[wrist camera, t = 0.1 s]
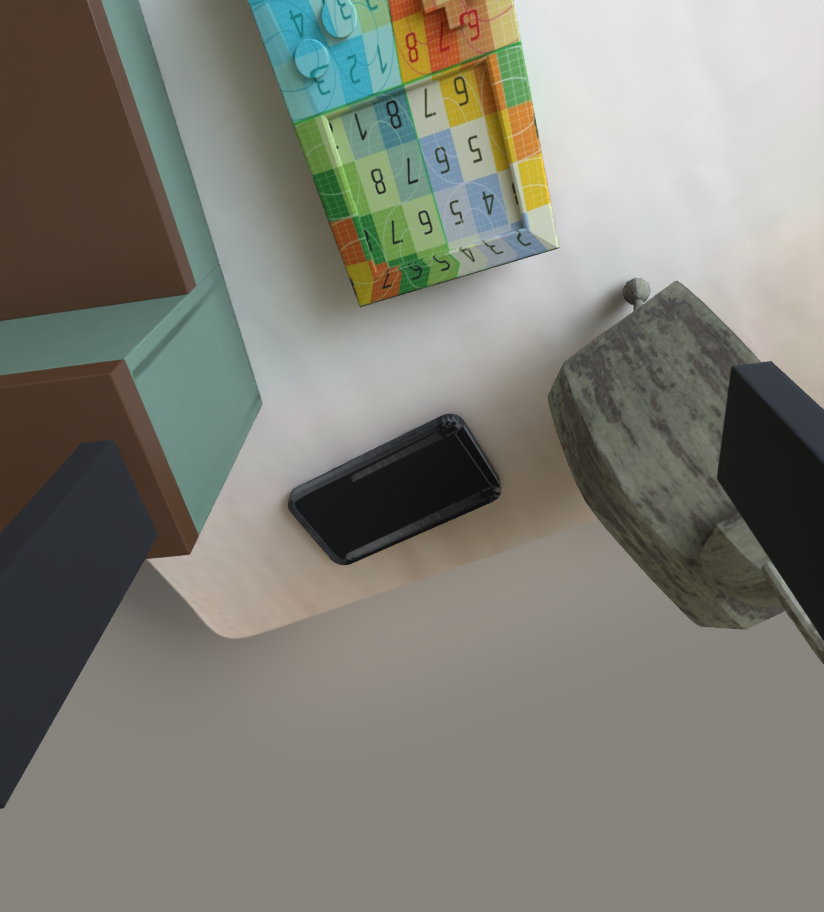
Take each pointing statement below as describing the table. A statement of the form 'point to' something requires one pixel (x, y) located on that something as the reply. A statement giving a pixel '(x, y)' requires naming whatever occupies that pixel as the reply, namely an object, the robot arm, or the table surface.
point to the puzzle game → (414, 134)
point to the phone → (396, 491)
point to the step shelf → (109, 273)
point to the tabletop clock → (669, 457)
